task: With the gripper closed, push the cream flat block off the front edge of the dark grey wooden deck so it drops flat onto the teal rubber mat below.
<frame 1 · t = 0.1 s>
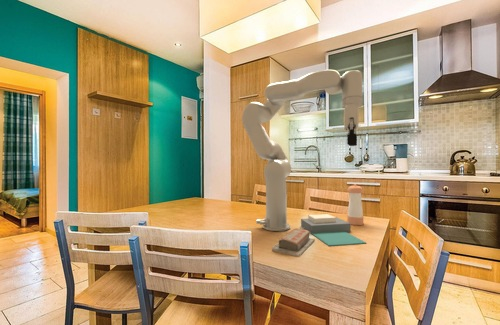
hand: (352, 145, 99), 37 cm above the table, tool pointing down, fingers open, 9 cm apart
mat: (337, 238, 97), on the table
deck: (324, 228, 111), on the table
packaged product: (294, 247, 89), on the table
pepper shaker: (355, 223, 120), on the table
cream flat block: (321, 220, 111), point 3 cm above the table, touching deck
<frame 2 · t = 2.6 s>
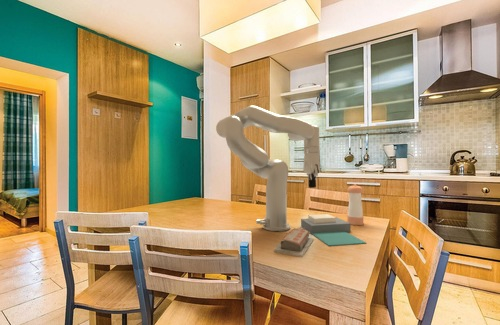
hand: (312, 187, 122), 17 cm above the table, tool pointing down, fingers closed
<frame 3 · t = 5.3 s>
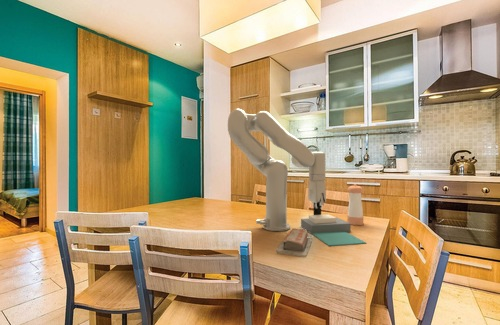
hand: (317, 216, 116), 4 cm above the table, tool pointing down, fingers closed
cream flat block: (322, 220, 111), point 3 cm above the table, touching deck, gripper
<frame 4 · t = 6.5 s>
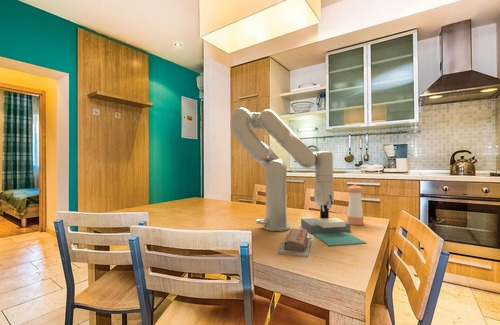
hand: (324, 219, 109), 5 cm above the table, tool pointing down, fingers closed
cream flat block: (330, 224, 104), point 3 cm above the table, touching gripper
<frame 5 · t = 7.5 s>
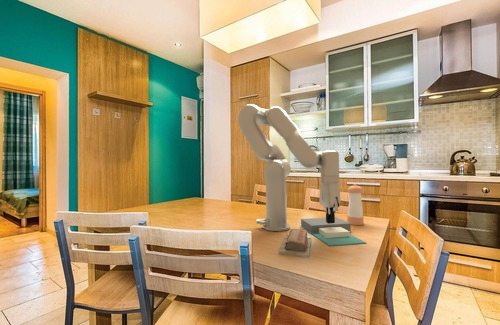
hand: (330, 222, 104), 5 cm above the table, tool pointing down, fingers closed
cream flat block: (333, 234, 101), resting on mat
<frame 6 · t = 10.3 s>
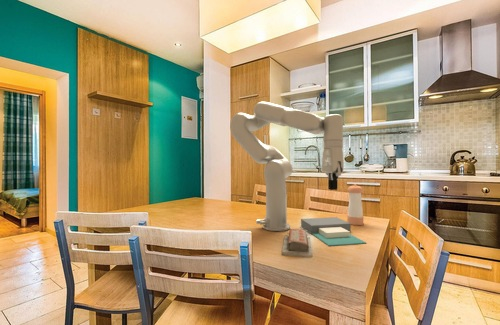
hand: (332, 189, 101), 19 cm above the table, tool pointing down, fingers closed
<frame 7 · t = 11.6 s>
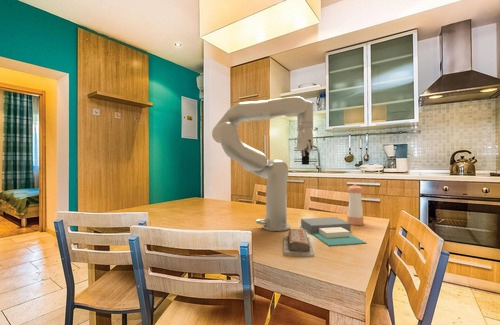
hand: (305, 164, 119), 29 cm above the table, tool pointing down, fingers closed
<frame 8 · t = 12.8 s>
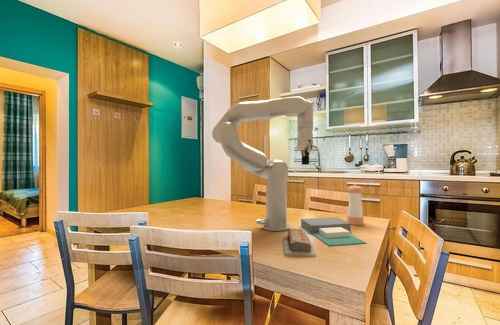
hand: (305, 164, 119), 29 cm above the table, tool pointing down, fingers closed
at the end: cream flat block inside the target area (3.6 cm from its centre), resting on mat; cream flat block touching mat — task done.
